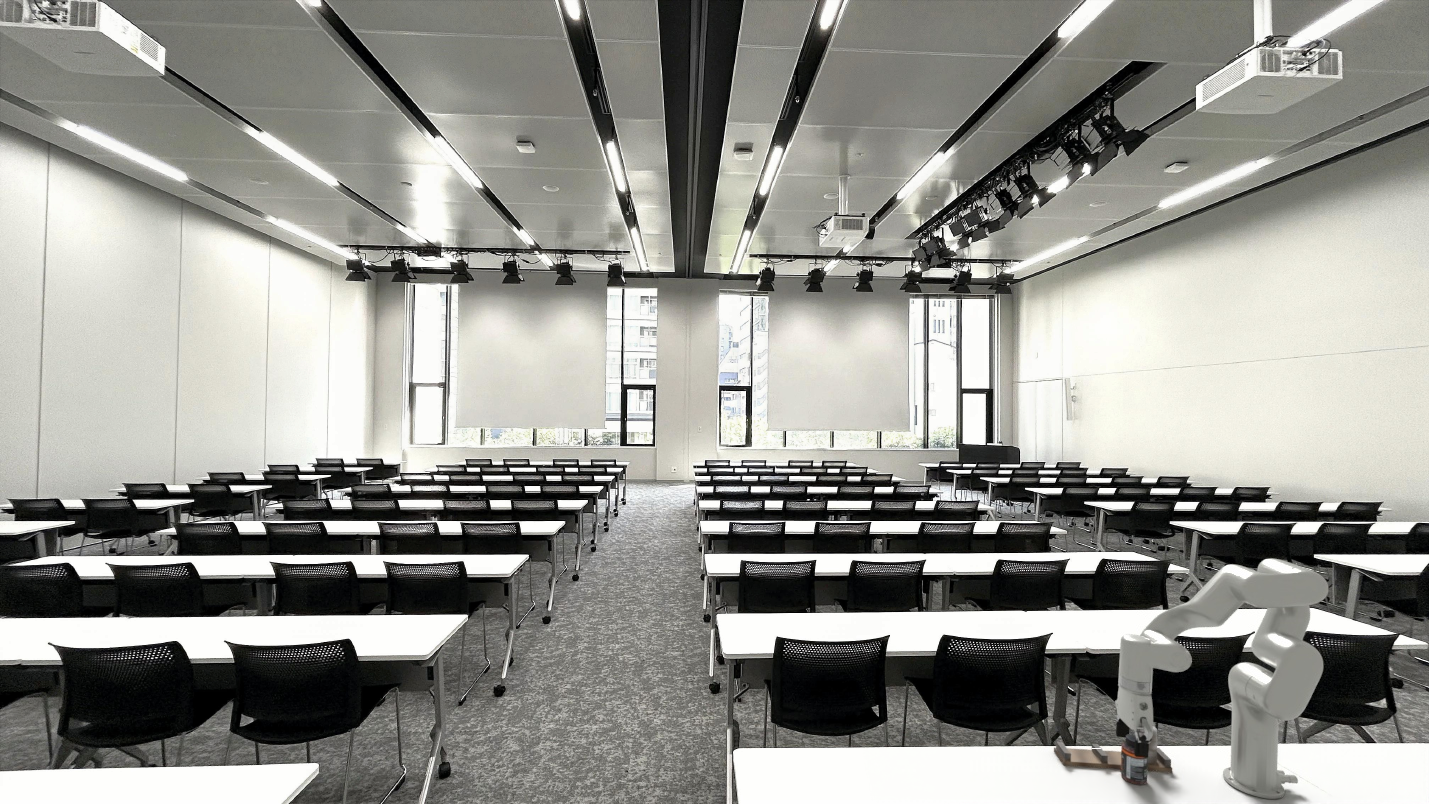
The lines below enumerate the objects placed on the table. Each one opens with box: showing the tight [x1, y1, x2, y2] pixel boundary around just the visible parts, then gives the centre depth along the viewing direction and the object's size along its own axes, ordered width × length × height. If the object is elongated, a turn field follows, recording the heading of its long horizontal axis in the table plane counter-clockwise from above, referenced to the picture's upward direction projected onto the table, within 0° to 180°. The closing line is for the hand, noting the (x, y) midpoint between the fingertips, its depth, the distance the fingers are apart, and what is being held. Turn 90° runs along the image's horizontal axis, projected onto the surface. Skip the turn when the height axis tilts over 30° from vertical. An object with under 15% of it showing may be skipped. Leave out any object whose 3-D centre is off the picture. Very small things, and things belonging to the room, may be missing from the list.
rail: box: [1053, 725, 1173, 773], centre depth 186 cm, size 28×7×10 cm, turn 84°
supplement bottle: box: [1120, 733, 1148, 786], centre depth 178 cm, size 6×6×11 cm
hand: (1131, 746), depth 178 cm, fingers open, 9 cm apart
